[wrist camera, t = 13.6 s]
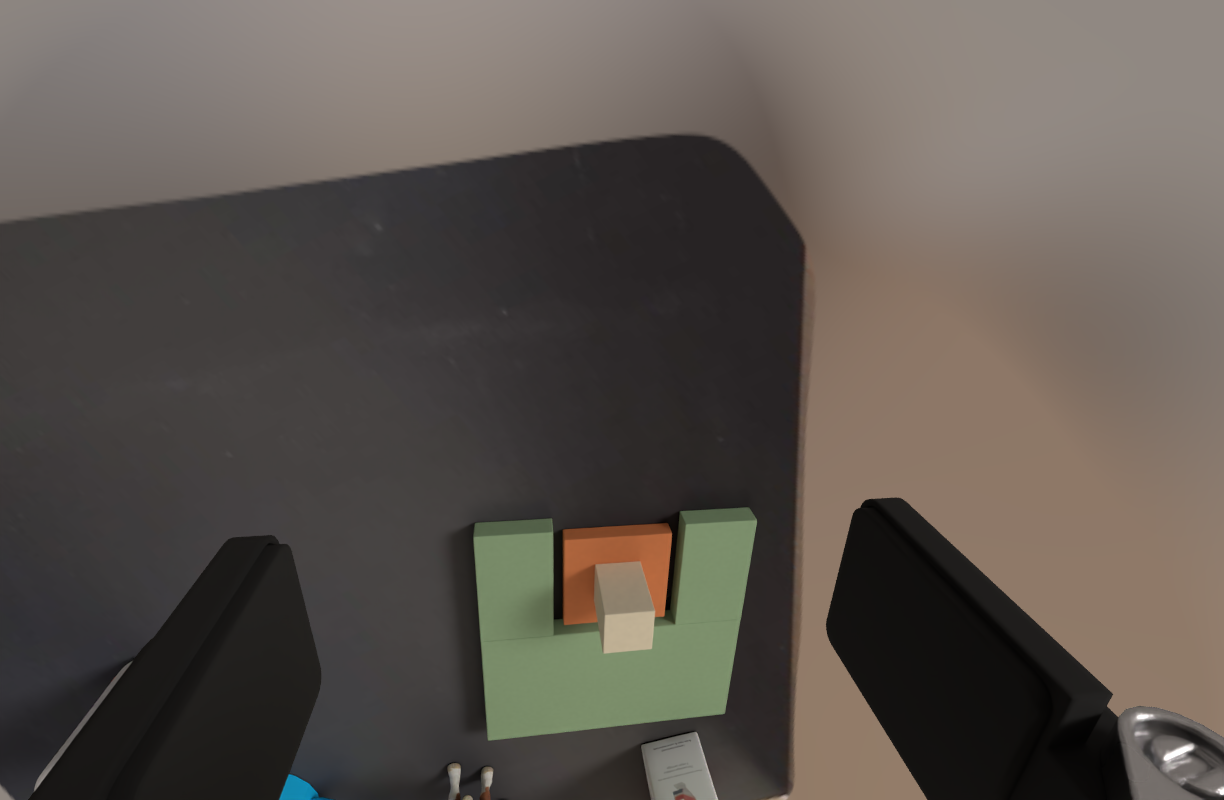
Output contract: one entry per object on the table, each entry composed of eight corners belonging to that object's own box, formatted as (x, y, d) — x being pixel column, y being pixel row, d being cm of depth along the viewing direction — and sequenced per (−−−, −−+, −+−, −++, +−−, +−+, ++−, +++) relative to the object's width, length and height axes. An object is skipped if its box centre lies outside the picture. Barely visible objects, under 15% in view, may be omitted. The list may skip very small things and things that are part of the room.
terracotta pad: (667, 522, 38) (691, 581, 32) (660, 604, 40) (681, 670, 35) (562, 529, 36) (569, 590, 31) (562, 612, 39) (569, 681, 34)
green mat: (748, 506, 38) (757, 520, 37) (718, 697, 45) (725, 714, 44) (474, 522, 35) (472, 537, 34) (488, 722, 42) (487, 741, 41)
